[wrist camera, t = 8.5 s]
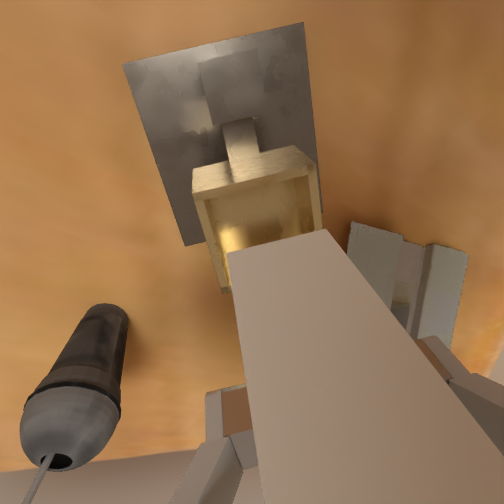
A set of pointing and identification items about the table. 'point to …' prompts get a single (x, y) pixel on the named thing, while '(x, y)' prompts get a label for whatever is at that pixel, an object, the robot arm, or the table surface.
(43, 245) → the table surface
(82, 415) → the dark travel mug
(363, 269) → the grey grooved block
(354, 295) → the rail end
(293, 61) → the bracket
